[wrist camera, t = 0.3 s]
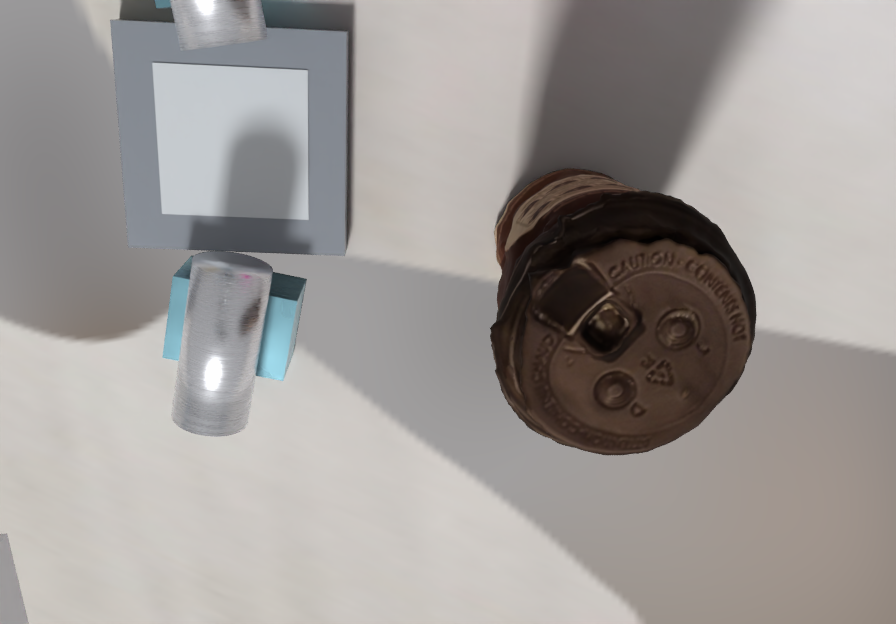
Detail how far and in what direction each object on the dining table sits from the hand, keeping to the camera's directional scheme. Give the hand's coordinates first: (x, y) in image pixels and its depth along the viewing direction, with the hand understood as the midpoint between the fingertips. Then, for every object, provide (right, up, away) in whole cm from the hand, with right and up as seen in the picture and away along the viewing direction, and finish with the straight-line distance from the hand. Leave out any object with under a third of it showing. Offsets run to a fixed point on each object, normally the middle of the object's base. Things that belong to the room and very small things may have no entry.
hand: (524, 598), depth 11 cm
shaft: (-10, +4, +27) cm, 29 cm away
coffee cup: (+4, +7, +26) cm, 28 cm away
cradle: (-10, +11, +24) cm, 28 cm away
